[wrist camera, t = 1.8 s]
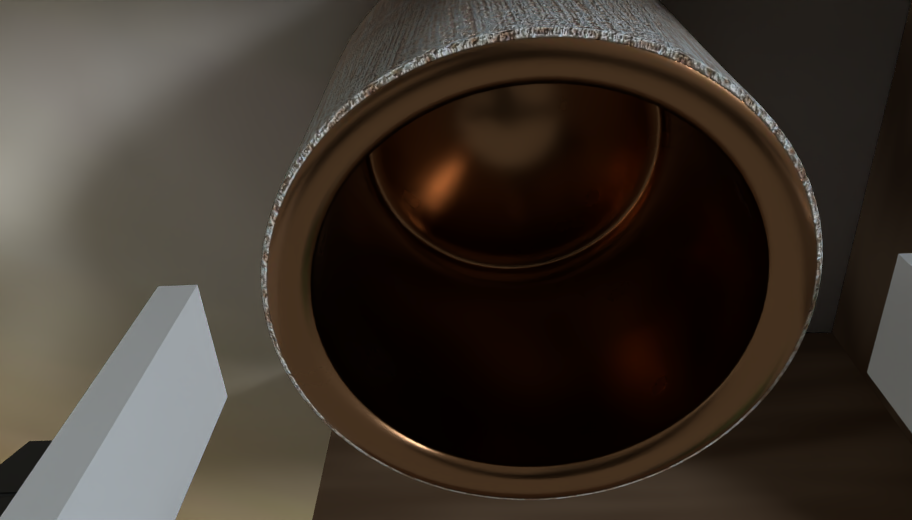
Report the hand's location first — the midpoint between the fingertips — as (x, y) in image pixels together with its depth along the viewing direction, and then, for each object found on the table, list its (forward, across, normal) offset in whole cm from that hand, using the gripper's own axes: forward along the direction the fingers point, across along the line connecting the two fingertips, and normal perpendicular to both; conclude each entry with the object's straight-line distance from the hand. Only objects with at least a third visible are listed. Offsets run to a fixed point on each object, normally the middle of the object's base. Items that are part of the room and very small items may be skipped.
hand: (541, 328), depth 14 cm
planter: (+10, 0, 0) cm, 10 cm away
